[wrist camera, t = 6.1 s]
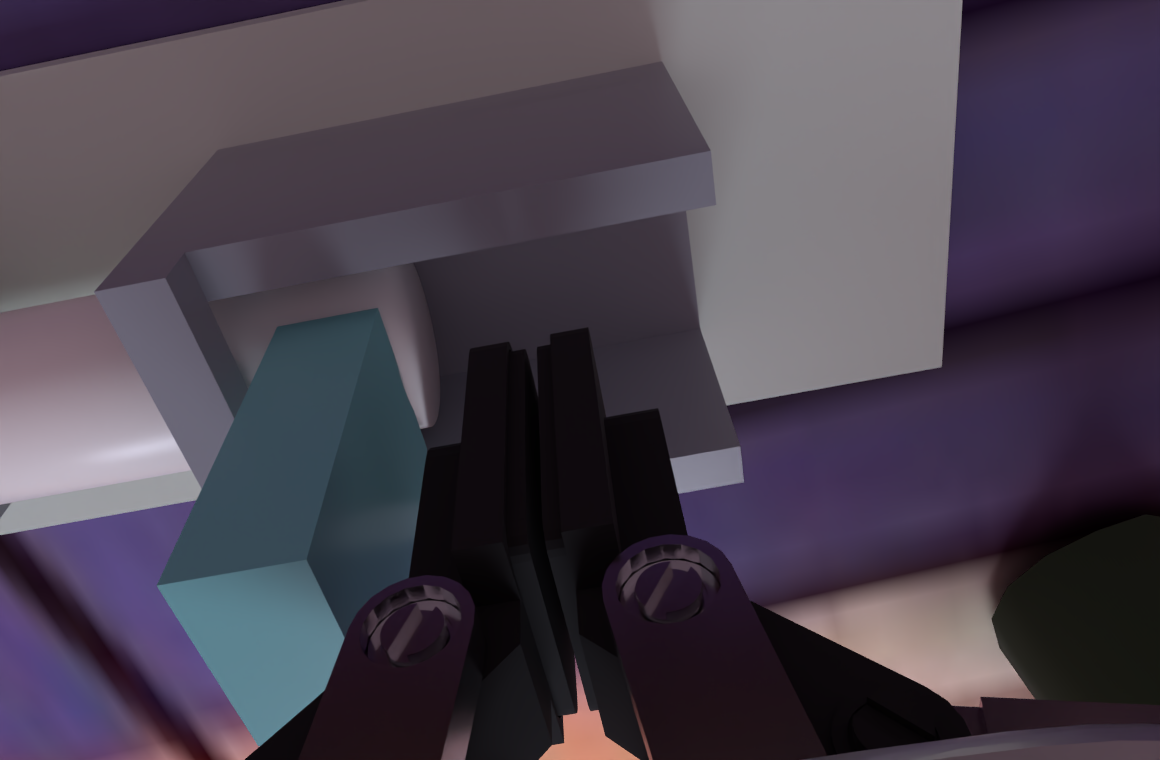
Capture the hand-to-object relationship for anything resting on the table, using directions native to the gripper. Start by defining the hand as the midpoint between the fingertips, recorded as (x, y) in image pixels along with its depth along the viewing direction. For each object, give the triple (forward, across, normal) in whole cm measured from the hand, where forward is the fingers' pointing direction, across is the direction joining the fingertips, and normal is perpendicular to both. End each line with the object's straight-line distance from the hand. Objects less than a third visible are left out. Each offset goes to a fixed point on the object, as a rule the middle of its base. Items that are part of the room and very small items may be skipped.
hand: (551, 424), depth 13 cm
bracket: (+7, +1, 0) cm, 7 cm away
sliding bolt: (+5, +9, 0) cm, 11 cm away
